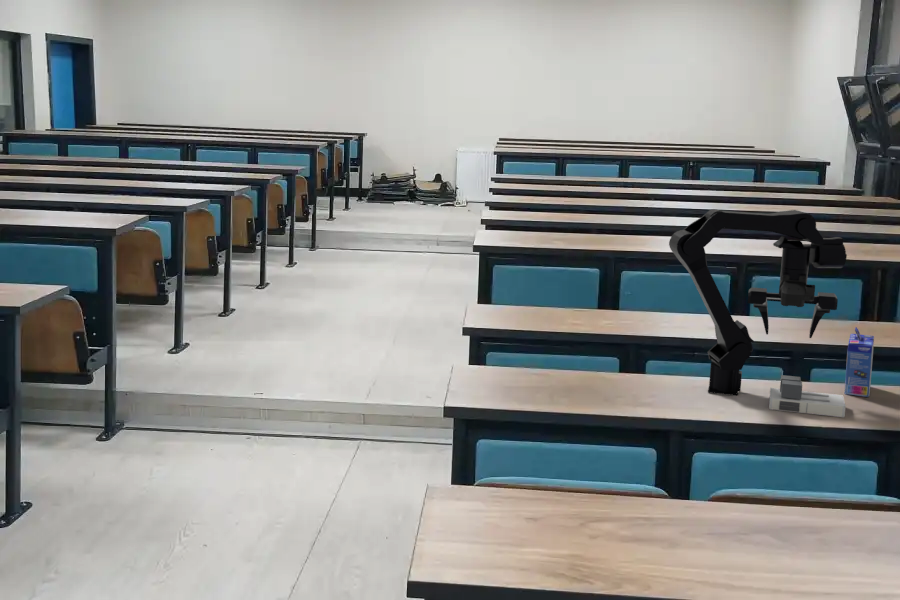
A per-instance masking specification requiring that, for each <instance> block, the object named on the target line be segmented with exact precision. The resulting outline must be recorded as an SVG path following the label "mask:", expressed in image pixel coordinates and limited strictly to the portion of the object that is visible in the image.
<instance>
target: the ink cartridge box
mask: <svg viewBox="0 0 900 600" xmlns="http://www.w3.org/2000/svg"><path fill="white" fill-rule="evenodd" d="M854 332H855V333H850V335H849V340H848V344H847V345H848V346H847V353H846V366H845V367H846V369H845V382H844V395H849V396H857V397H864V398H869V397H870V395H871V393H870V392H871V385H872V384H871V381H872V369H873V360H874V359H873V357H874V343H875V336H874V335H869V334H861V333H860V331H859V328H857V327H856V326H855V328H854Z"/></svg>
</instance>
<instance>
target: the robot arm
mask: <svg viewBox="0 0 900 600" xmlns="http://www.w3.org/2000/svg"><path fill="white" fill-rule="evenodd" d="M722 229H725V230H739V231H740V230H742V231H756V232H771V233H772V232H773V233H776V234H780V235H783V236H780V238H779V239H777V240H776V241H775V242H773V244H772V245H773V247H776V248H778V249H782V251H781V252H782V254H781V266H780V274H779V277H780V278H779V287H778V292H768V291H767V290H768V289H767V288H766V287H765V288H763V287H762V288H761V287H750V288H749V289H748V293H747V295H748V296H747V304H750V305H752V306H753V308H754V309H755V308H757V309H758V311H759V313H760V315H761V319H762V323H763V326H764V331H765V334H766V335H769V326H770V325H769V308H768V302H769V301H770V302H780V305H781V306H783V307H796V308H803V307H804V306H805V304H806V305H814V308H813V313H812V319H811V323H810V327H809V334H808V335H809V336H808V338H809V339H812V338H813V335H814V333H815V331H816V329H817V327H818V325H819V323H820V321H821V319H822V317H823V316H825V315H826V314H830V313H831V311H838V297H837V295H836V294H835V293H834V292H822V291H821V292H820V291H818V292H817V295H815V293H816V292H815V291H816V285H815V284H808V274H809V266H810V264H812V266H813V267H814V268H816V269H842V268H844V267H845V264H846V263H847V256H848V255H847V251H846V247H845V245H844V238H842V237H840V236H834V237H833V236H832V237H823V236H822V235H821V233H820V232H819V231H820V230H818V228H817V222H816V218H815V217H814V216H813V214H810V213H807V212H804V211H801V210H798V209H797V210H796V209H791V210H783V211H777V212H771V213H761V212H744V211H734V210H733V211H730V210H719V209H714V208H713V209H709V210H708V211H707V212H706V213H704V214H703V215H702V216H701V217H698V219H696V220H694V221H693V222H691V223H690V224H688V225H687V226H686V227H684V228H683V229H681V230H676V231H674V233H673V234H671V237H670V238H669V242H668V246H669V248H670V250H671V252H672V253H673V254H674V256H675V257H676V259H677V260H678V261H679V262H680V263H681V265H682V266H683V267H684V268H685V269H686V271H687V272H688V274H689V275H690V278H691V280H692V281H693V284H694V285H695V288H696V290H697V291H698V294H699V295H700V298H701V300H702V302H703V305H704V306H705V307H706V310H707V312H708V314H709V316H710V318H711V321H712V322H713V325H714V331H715V338H716V341H717V343H715V344H714V345H713V346H712V347H711V348H710V349H709V350H708V351H707V355H708V359H709V360H710V361H711V362H710V368H709V382H708V383H709V384H708V389H707V393H709V394H716V395H717V394H718V395H726V396H738V395H739V392H741V391H742V388H741V387H742V375H743V371H742V369H743V368H744V365H745V362H747V360H748V359H750V357H751V355H752V353H753V351H754V345H753V343H754V340H753V338H751V336H750V334H749V330H748V327H747V325H746V324H744V323H742V322H741V321H740V320H738V319H737V320H735V321H734V319H733V316H732V315H731V313H730V311H729V308H728V306H727V305H726V303H725V300H724V298H723V296H722V294H721V292H720V290H719V288H718V286H717V284H716V282H715V280H714V278H713V275H712V273H711V271H710V269H709V267H708V263H707V254H706V250H705V247H706V246H707V245H708V244H710V243H711V242H712V241H713V240H714V238H715V237H716V236H717V234H718V233H719V232H720V231H721V230H722ZM787 237H791V238H796V239H788V238H787ZM801 240H803V241H805V242H809V243H803V242H802V241H801Z"/></svg>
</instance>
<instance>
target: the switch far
mask: <svg viewBox="0 0 900 600" xmlns="http://www.w3.org/2000/svg"><path fill="white" fill-rule="evenodd" d="M782 380H789V381H799V382H802V380H801V376H796V375H795V376H794V375H793V376H792V375H783V374H780V384H779V389H780V392H781V390H782Z"/></svg>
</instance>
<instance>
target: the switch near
mask: <svg viewBox="0 0 900 600" xmlns="http://www.w3.org/2000/svg"><path fill="white" fill-rule="evenodd" d="M802 391H803V381H801V382H799V381H789V380H782V390H781V397H784V398H794V399H801V395H802Z"/></svg>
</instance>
